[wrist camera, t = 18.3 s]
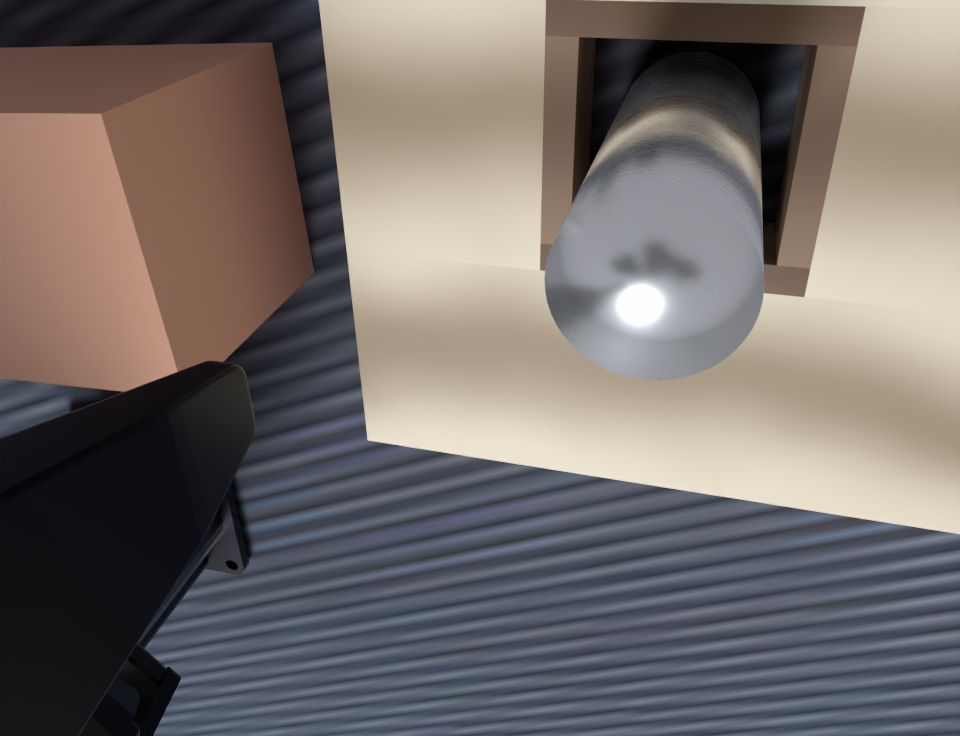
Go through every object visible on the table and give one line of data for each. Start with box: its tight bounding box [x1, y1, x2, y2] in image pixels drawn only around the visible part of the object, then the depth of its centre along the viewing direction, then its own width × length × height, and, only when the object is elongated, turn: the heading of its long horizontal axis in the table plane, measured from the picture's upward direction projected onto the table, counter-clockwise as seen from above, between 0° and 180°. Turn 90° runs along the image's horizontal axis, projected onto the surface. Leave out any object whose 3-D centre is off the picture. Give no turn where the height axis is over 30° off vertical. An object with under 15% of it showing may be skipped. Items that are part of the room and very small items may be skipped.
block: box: [0, 43, 314, 392], centre depth 22 cm, size 6×9×7 cm
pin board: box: [319, 0, 960, 534], centre depth 19 cm, size 18×16×2 cm
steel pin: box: [544, 51, 764, 381], centre depth 16 cm, size 3×3×9 cm
